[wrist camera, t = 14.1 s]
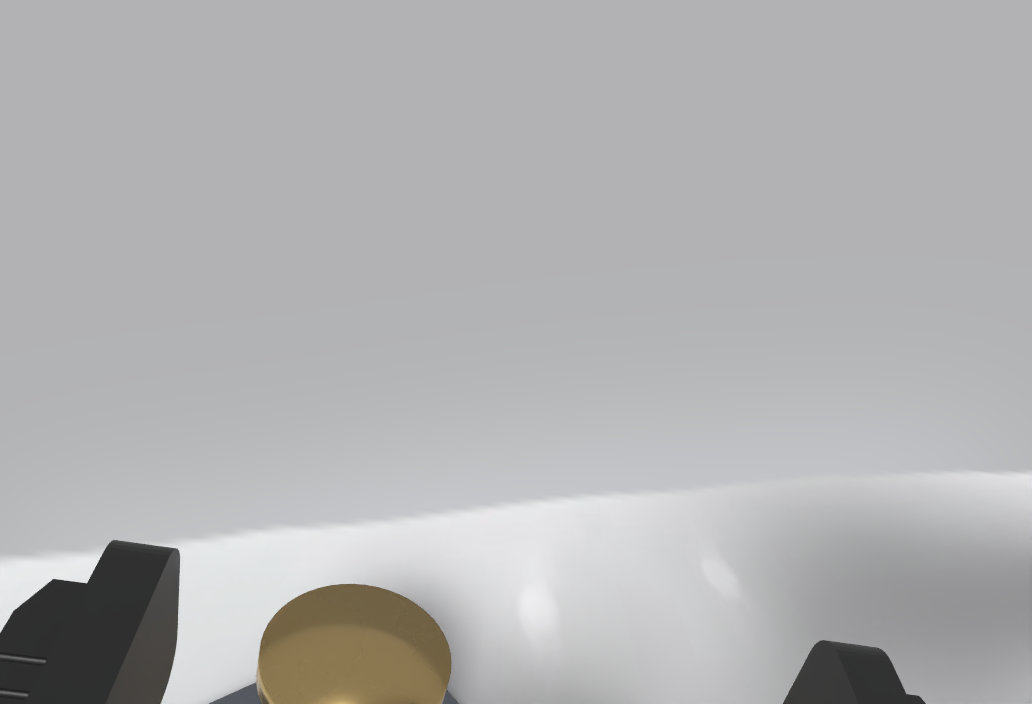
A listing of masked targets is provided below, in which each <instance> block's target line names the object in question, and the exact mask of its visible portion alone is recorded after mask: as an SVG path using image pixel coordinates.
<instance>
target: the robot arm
mask: <svg viewBox="0 0 1032 704" xmlns="http://www.w3.org/2000/svg"><path fill="white" fill-rule="evenodd" d="M179 573H180V553H179V550H178V549H176V548H168V547H161V546H154V545H147V544H139V543H132V542H125V541H118V540H113V541H111V542H110V543H109V545H108V546H107V547H106V549H105V551H104V552H103V554H102V556H101V558H100V560H99V562H98V564H97V566H96V567H95V569H94V571H93V573H92V575H91V577H90V579H89V581H88V583H79V582H72V581H64V580H57V579H53V580H52V581H51V582H49V583H48V584H47V585H46V586H44V587H43V588H42V589H41V590H39V591H38V592H37V593H36V594H34V595H33V596H32V597H30V598H29V599H28V600H27V601H25V602H24V603H23V604H22V605H20V606H19V607H18V608H17V609H15V610H14V611H13V613H12V615H11V616H10V618H9V620H8V621H7V623H6V625H5V626H4V628H3V630H2V631H1V633H0V704H161V701H162V698H163V696H164V693H165V690H166V687H167V684H168V681H169V677H170V673H171V669H172V665H173V661H174V656H175V650H176V643H177V629H178V601H179ZM783 704H926V703H925V702H924V701H923V700H922V699H921V698H920V697H919V696H916V695H908V694H906V692H905V690H904V688H903V686H902V684H901V682H900V680H899V677H898V675H897V673H896V671H895V669H894V667H893V665H892V663H891V661H890V659H889V657H888V656H887V654H886V653H885V652H884V651H883V650H881V649H879V648H875V647H868V646H861V645H854V644H847V643H839V642H832V641H825V640H822V641H819V642H818V643H816V644H815V645H814V647H813V648H812V650H811V651H810V653H809V655H808V657H807V659H806V661H805V663H804V665H803V667H802V669H801V670H800V672H799V674H798V676H797V678H796V680H795V682H794V684H793V686H792V687H791V689H790V691H789V693H788V695H787V697H786V699H785V701H784V703H783Z"/></svg>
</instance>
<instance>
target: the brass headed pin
mask: <svg viewBox="0 0 1032 704" xmlns="http://www.w3.org/2000/svg"><path fill="white" fill-rule="evenodd" d="M450 673H451V654H450V650H449V646H448V643H447V641H446V638H445V636H444V634H443V632H442V631H441V629H440V627H439V626H438V625H437V623H436V622H435V621H434V619H433V618H432V617H431V616H430V615H429V614H428V613H427V612H426V611H425V610H423V609H422V608H421V607H419V606H418V605H417V604H415V603H414V602H412V601H410V600H409V599H407V598H405V597H403V596H401V595H399V594H397V593H394V592H392V591H389V590H386V589H382V588H378V587H374V586H368V585H359V584H340V585H331V586H326V587H321V588H318V589H315V590H312V591H309V592H306V593H304V594H302V595H300V596H298V597H296V598H295V599H293V600H291V601H290V602H288V603H287V604H286V605H285V606H283V607H282V608H281V609H280V610H279V611H278V612H277V613H276V614H275V615H274V617H273V618H272V619H271V621H270V622H269V623H268V625H267V627H266V629H265V631H264V634H263V637H262V640H261V645H260V652H259V659H258V666H257V673H256V684H257V690H258V695H259V698H260V701H261V703H262V704H442V703H443V699H444V696H445V692H446V689H447V685H448V682H449V678H450Z"/></svg>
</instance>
